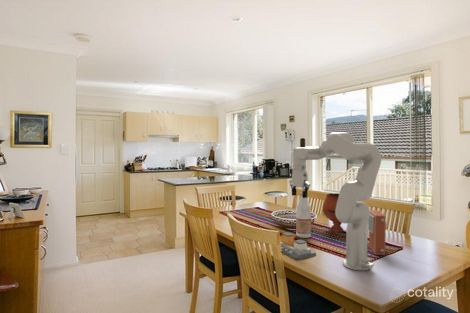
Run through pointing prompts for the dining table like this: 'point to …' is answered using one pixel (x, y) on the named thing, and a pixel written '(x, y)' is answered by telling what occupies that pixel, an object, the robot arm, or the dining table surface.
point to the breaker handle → (300, 245)
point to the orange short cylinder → (288, 239)
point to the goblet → (332, 211)
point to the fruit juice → (303, 218)
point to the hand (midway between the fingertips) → (299, 196)
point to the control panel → (377, 232)
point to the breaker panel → (296, 252)
